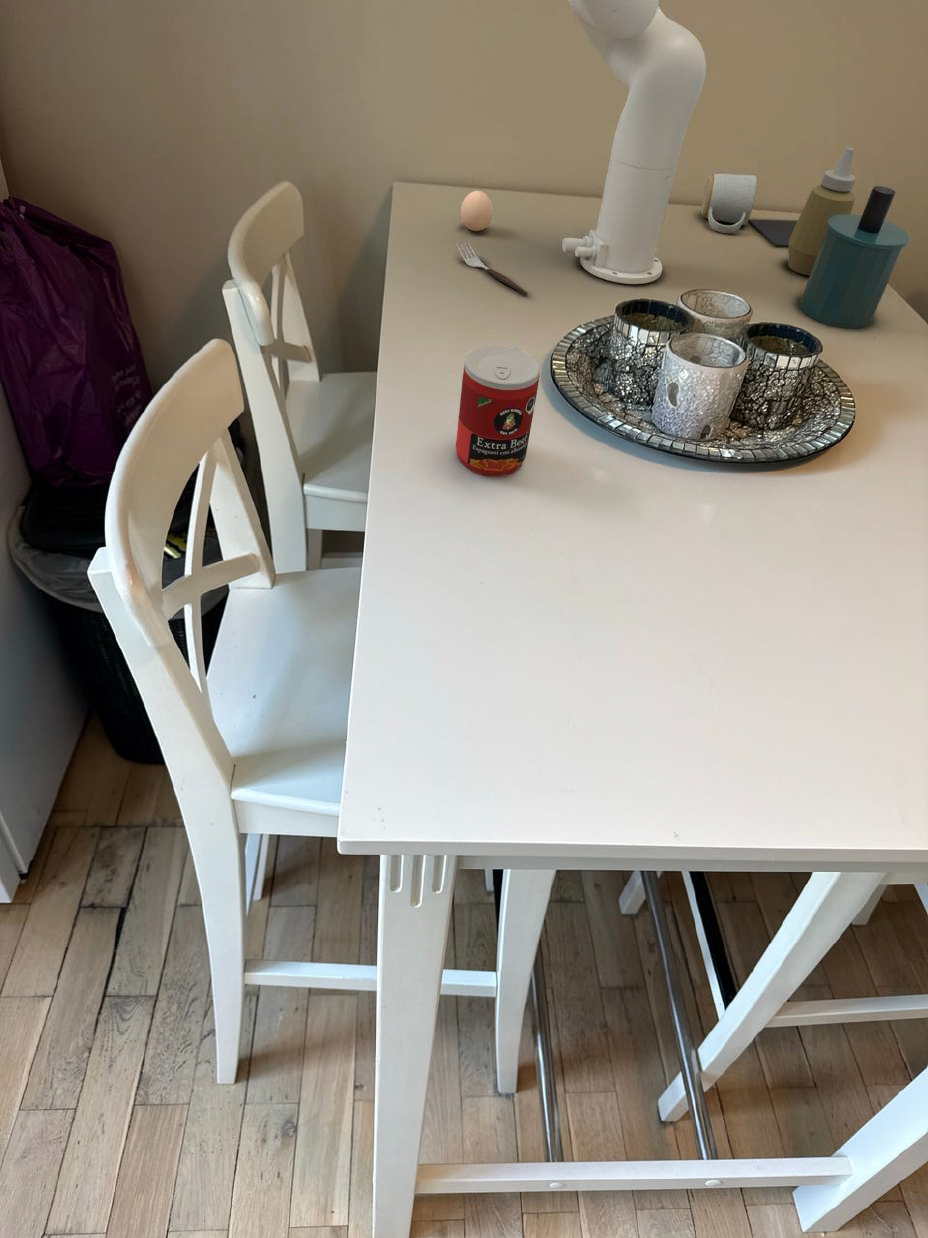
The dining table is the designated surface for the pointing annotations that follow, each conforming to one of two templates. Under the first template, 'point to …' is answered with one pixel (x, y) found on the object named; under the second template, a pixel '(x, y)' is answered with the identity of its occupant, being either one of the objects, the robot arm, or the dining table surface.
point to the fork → (477, 263)
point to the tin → (847, 282)
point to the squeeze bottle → (821, 213)
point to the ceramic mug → (728, 200)
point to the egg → (476, 211)
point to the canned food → (496, 409)
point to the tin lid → (870, 224)
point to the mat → (775, 230)
